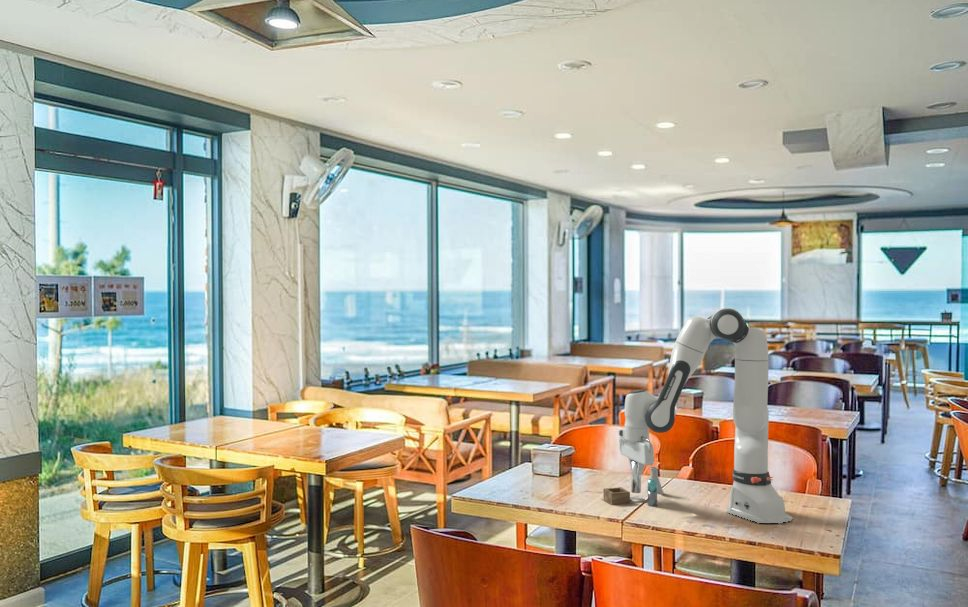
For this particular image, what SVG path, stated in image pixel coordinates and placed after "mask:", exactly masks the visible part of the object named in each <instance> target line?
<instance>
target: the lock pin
mask: <svg viewBox="0 0 968 607" xmlns="http://www.w3.org/2000/svg"><path fill="white" fill-rule="evenodd" d="M636 469H638V462H636V461H632V468H631V470H630V471H631V482H630V483H631V485H630V487H631V488H630V490H631V492H630V493H633V494H640V493H641V492H642V474H637V473H636Z"/></svg>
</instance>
